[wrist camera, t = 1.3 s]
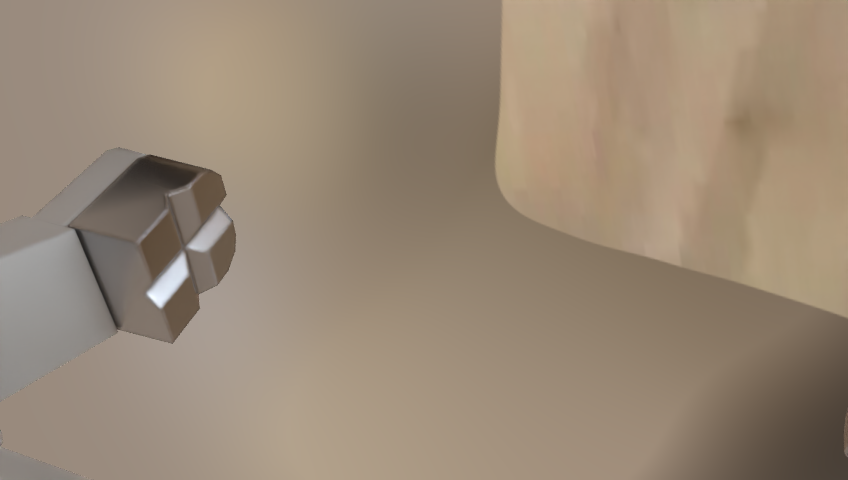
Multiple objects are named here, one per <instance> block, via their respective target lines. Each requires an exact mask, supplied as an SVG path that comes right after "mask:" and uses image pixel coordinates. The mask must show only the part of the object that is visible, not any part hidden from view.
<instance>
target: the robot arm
mask: <svg viewBox="0 0 848 480" xmlns="http://www.w3.org/2000/svg"><path fill="white" fill-rule="evenodd" d="M225 197H226V191H225V188H224V184H223V181H222V177H221V175H219V174H217V173H216V172H214V171H212V170H210V169H206V168H202V167H198V166H193V165H190V164H185V163H182V162H178V161H174V160H170V159H166V158H162V157H158V156H154V155H146V154H142V153H139V152H135V151H131V150H127V149H123V148H115V149H111V150H107V151H106V152H104V153H103V154H102V155H101V156H100V157H99V158H98V159H97V160H96V161H94V162H93V163H92V164H91V165H90V166H89V167H88V168H87V169H86V170H84V171H83V172H82V173H81V174H80V175H79V176H78V177H77V178H76V179H74V180H73V181H72V182H71V183H70V184H69V185H68V186H67V187H66V188H65V189H63V190H62V192H60V193H59V194H58V195H57V196H56V197H55V198H53V199H52V200H51V201H50V202H49V203H48V204H47V205H46V206H45V207H44V208H42V209H41V210H40V211H39V212H38V213H37V214H36V215H35V216H33V217H32V218H30V217H26V216H20V217H17V218H14V219H12V220H9V221H6V222H4V223H1V224H0V402H1V401H2V400H4V399H6V398H7V397H9V396H11V395H13V394H14V393H16V392H18V391H19V390H21V389H23V388H25V387H26V386H28V385H30V384H31V383H33V382H35V381H37V380H38V379H40V378H42V377H43V376H45V375H47V374H48V373H50V372H52V371H53V370H55V369H57V368H59V367H60V366H62V365H64V364H65V363H67V362H69V361H71V360H72V359H74V358H76V357H77V356H79V355H81V354H82V353H84V352H86V351H88V350H89V349H91V348H93V347H94V346H96V345H98V344H99V343H101V342H103V341H104V340H106V339H108V338H110V337H111V336H113V335H115V334H116V333H117V332H118V331H117V329H118V330H122V331H126V332H130V333H133V334H138V335H141V336H145V337H149V338H152V339H156V340H160V341H164V342H168V343H172V344H173V342H174V341H175V340H176V338H177V337H178V336H179V335H180V333H181V332H182V331H183V329H184V328H185V327H186V326H187V324H188V323H189V321H190V320H191V319H192V318H193V317H194V315H195V314H196V313H197V311H198V310H199V309H200V306H199V294H200V293H202V292H204V291H207V290H209V289H211V288H213V287H215V286H217V285H218V284H219V282H220V281H221V280H222V278H223V277H224V275H225V274H226V273H227V272H228V270H229V267H230V264H231V261H232V258H233V256H234V253H235V243H236V233H235V229H234V224H233V220H232V219H231V218H230V217H229V216H228V214H227V213H226V212H224V210H223V209H222V207H221V206H220V204H221V202H222V201H223V200H224V198H225ZM2 440H3V439H2V432H1V430H0V446H1V445H2V443H3V441H2ZM844 453H845V455H846V456H847V457H848V410H847V413H846V419H845V429H844ZM0 480H92V479H89V478H87V477H84V476H81V475H78V474H75V473H73V472H70V471H67V470H64V469H61V468H59V467H56V466H53V465H50V464H47V463H45V462H42V461H39V460H36V459H33V458H30V457H28V456H25V455H22V454H19V453H17V452H14V451H11V450H8V449H5V448H2V447H0Z"/></svg>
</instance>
